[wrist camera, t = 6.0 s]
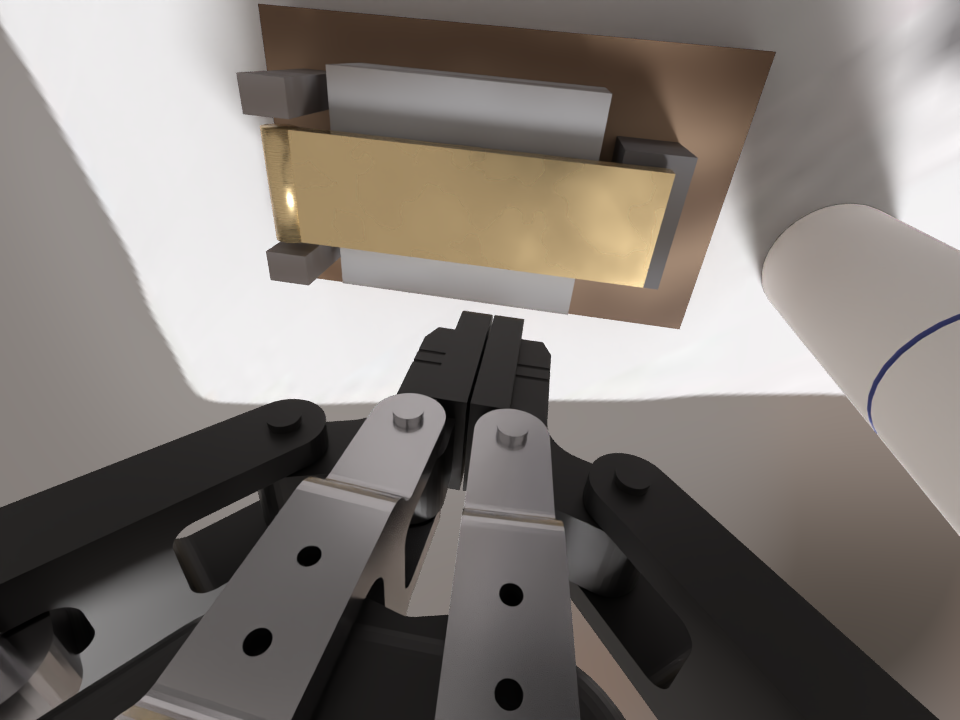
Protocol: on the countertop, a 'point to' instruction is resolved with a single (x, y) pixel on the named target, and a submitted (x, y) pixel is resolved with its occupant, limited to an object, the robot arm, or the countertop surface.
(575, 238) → the plate
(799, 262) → the cylindrical container
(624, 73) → the stand
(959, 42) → the countertop surface
